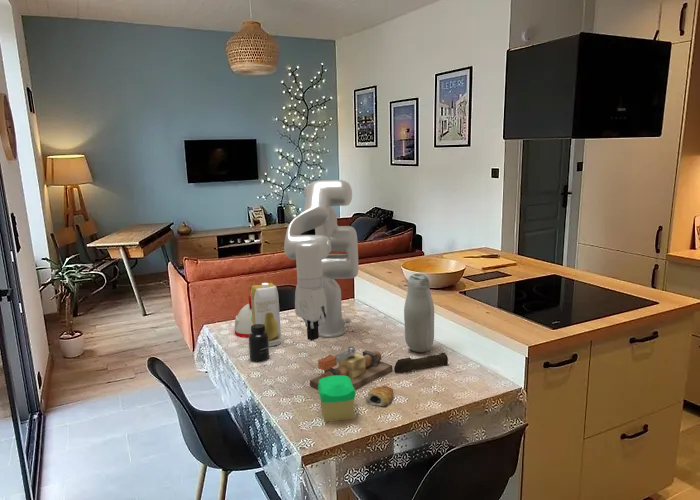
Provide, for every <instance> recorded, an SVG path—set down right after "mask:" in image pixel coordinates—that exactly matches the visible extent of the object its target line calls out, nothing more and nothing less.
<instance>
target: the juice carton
mask: <svg viewBox="0 0 700 500" xmlns="http://www.w3.org/2000/svg"><path fill="white" fill-rule="evenodd" d="M250 296H251V306H252V320H253V325H255V324H263V325H265V332H266V333H267V334H268V340H269V347H274V346H278V345H280V344H281V318H280V317H281V316H280V303H279V292H278V288H277V286H276V285H275V284H274V283H272V282H269V283H268V282H262V283H261V284H259V285H257V284H256V285H251V290H250Z"/></svg>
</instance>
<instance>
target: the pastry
mask: <svg viewBox="0 0 700 500" xmlns="http://www.w3.org/2000/svg"><path fill="white" fill-rule="evenodd" d="M393 395H394V390H393V388H392V387H389V386H387V385H381V386H377V387H373V388H372V389H370V390H369V391H368V393H367V397H366V398H365V402H367V404H369V405H371V406H378V407H384V406H388V405H389V404H390V403H391V401H392V399H393Z"/></svg>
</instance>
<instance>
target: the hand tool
mask: <svg viewBox="0 0 700 500" xmlns="http://www.w3.org/2000/svg"><path fill="white" fill-rule="evenodd" d="M448 364H449V357H448V355H447V354H446V353H445V352H440V353H438V354H433V355H427V356H422V357H418V358H411V357H405V358H400V359H398V360H397V361H396V362H395V364H394V368H393V373H395V374H405V373H406V374H407V373H412V372H413V371H414V370H420V369H424V368H431V367H437V366H441V365H445V366H448Z"/></svg>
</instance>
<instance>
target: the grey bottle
mask: <svg viewBox="0 0 700 500" xmlns="http://www.w3.org/2000/svg"><path fill="white" fill-rule="evenodd" d="M432 297H433V296H432V294H431V289H430V280H429V278H428V276H426V275H425V274H422V273H413V274H411V275H410V276H409V278H408V281H407V292H406V297H405V301H404V307H403V308H404V309H403V315H404V316H403V318H404V340H405V343H406V345H407V346H408V348H409V349H410V350H412V351H413V352H416V353H425V352H427V351H429V350H430V349H431V348H432V347H433V344H434V340H435V304H434V302H433V301H434V300H433V298H432Z"/></svg>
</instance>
